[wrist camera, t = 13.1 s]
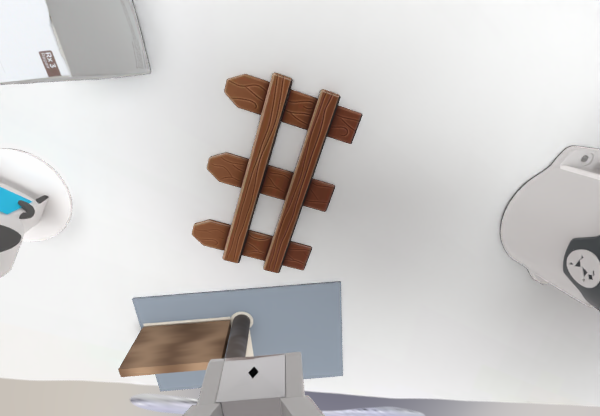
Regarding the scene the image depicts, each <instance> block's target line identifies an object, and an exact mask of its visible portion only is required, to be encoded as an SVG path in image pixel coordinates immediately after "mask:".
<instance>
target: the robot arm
mask: <svg viewBox="0 0 600 416" xmlns="http://www.w3.org/2000/svg"><path fill="white" fill-rule="evenodd" d="M582 157H583V159H582V160H581V158H582ZM501 240H502V244H503V246H504V249H505V251H506V252H507V253H508V255H509V256H510V257H511V258H512V259H513V260H515V261H516V262H518V263H520V264H522V265H523V266H525V267H526V268H527V269H528V271H529V273H530V274H531V276H532V277H533V279H534V280H536V281H538V282H539V283H541V284H549V283H550V284H552V285H553V286H555V287H557V288H558V289H560V290H561V291H563V292H565V293H566V294H568V295H569V296H571V297H573V298H574V299H576V300H578V301H579V302H581V303H583V304H584V305H586V306H589V307H595V308H596V309H598V310H599V311H600V149H596V148H588V147H581V146H571V147H568V148H567V149H565V150H564V151H563V152H562V153H561V154H560V155H559V156H558V157H557V159H556V160H555V161H554V162H553V163H552V165H551V166H550V167H549V168H547V169H546V170H545V171H543V172H542V173H540V174H539V175H537V176H535V177H534V178H533V179H531V180H530V181H529V182H527V183H526V184H525V185H524V186H523V187H522V188H521V189H520V190H519V191H518V192H517V193H516V194H515V196H514V197H513V198H512V200H511V201H510V203H509V205H508V207H507V209H506V211H505V213H504V216H503V219H502V223H501ZM183 416H325V415H324V414H323V413H322V412H321V410H320V409H319V408H318V407H317V405H316V404H315V403H314V402H313V400H312V399H311V398H310V397H309V396H305V393H304V381H303V368H302V355H301V352H293V353H282V354H272V355H261V356H252V357H234V358H223V359H211V360H210V361H209V363H208V366H207V369H206V373H205V377H204V380H203V384H202V387H201V391H200V395H199V398H198V402H197V405H192V406H191V407H190V408H189V409H188V410H187V411H186V412H185V413H184V415H183Z"/></svg>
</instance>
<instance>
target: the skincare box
mask: <svg viewBox="0 0 600 416" xmlns="http://www.w3.org/2000/svg"><path fill="white" fill-rule="evenodd" d="M150 73H151V71H150V66H149V62H148V59H147V55H146V51H145V47H144V43H143V39H142V35H141V31H140V27H139V23H138V20H137V16H136V12H135V9H134V6H133V3H132V0H0V85H5V84H28V83H39V82H59V81H77V80H98V79H107V78H118V77H127V76H136V75H144V74H150Z"/></svg>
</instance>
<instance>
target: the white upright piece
mask: <svg viewBox="0 0 600 416" xmlns="http://www.w3.org/2000/svg"><path fill="white" fill-rule="evenodd" d="M71 215H72V199H71V195H70V192H69V190H68V187H67V185H66V184H65V182H64V180H63V179H62V178H61V176H60V175H59V174H58V173H57V172H56V171H55V170H54V169H53V168H52V167H51V166H50V165H49V164H47V163H46V162H45V161H43V160H42V159H40V158H38V157H36V156H34V155H32V154H30V153H27V152H24V151H21V150H16V149H0V278H1V277H3V276H4V275H6V274H7V273H8V272H9V271H10V270H11V269H12V266H13V264H14V261H15V258H16V256H17V253H18V250H19V248H20V245H21V242H22V241H30V242H35V241H43V240H47V239H49V238H52V237H54V236H56V235H57V234H59V233H60V232H61V231H62V230H63V229H64V228H65V227H66V226H67V224H68V223H69V221H70V218H71Z"/></svg>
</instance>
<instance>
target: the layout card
mask: <svg viewBox="0 0 600 416" xmlns="http://www.w3.org/2000/svg"><path fill="white" fill-rule="evenodd" d="M132 300H133V304H134V307H135V310H136V313H137V317H138V320H139V323H140V326H141V330H142V328H143V327H154V326H166V325H178V324H190V323H203V322H215V321H227V320H230V323H231V328H232V323H233V319H234V317H235V316H237V315H240V314H243V315H246V316H248V317H249V318H250V328H249V335H248V342H247V349H246V356H245V357H252V356H261V355H272V354H282V353H293V352H301V355H302V368H303V379H311V378H323V377H334V376H343V365H342V319H341V282H327V283H315V284H302V285H290V286H277V287H265V288H252V289H240V290H227V291H215V292H202V293H190V294H177V295H165V296H153V297H140V298H133V299H132ZM230 333H231V331H230ZM229 337H230V335H229ZM228 342H229V340H228ZM227 346H228V345H227ZM226 351H227V349H226ZM225 356H226V354H225ZM205 373H206V370H199V371H187V372H175V373H163V374H155V375H156V378H157V382H158V385H159V388H160V391H170V390H181V389H193V388H201V387H202V384H203V380H204V377H205Z"/></svg>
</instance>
